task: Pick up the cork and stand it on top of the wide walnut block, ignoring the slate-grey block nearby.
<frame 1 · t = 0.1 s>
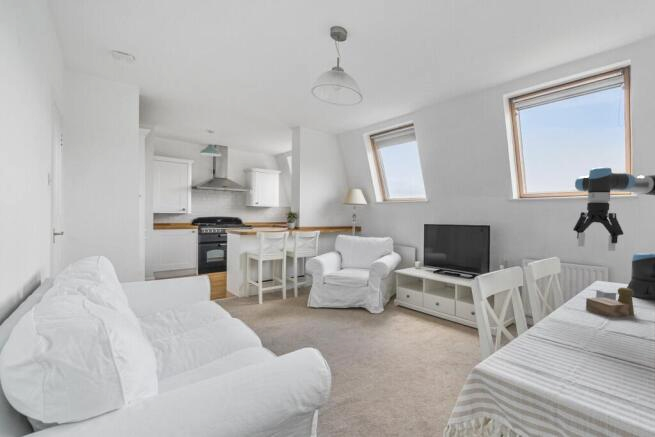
hand: (595, 248, 138), 28 cm above the table, fingers open, 13 cm apart
cork: (624, 312, 134), on the table
walnut block: (606, 312, 134), on the table
slate block: (605, 303, 147), on the table
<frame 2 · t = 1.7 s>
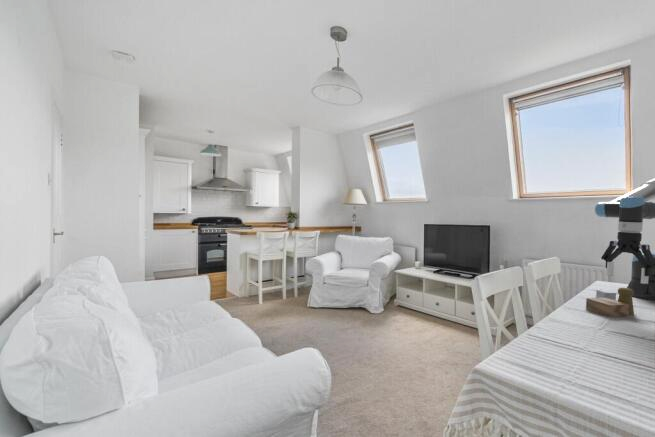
hand: (626, 279, 134), 15 cm above the table, fingers open, 13 cm apart
nothing on the table moved.
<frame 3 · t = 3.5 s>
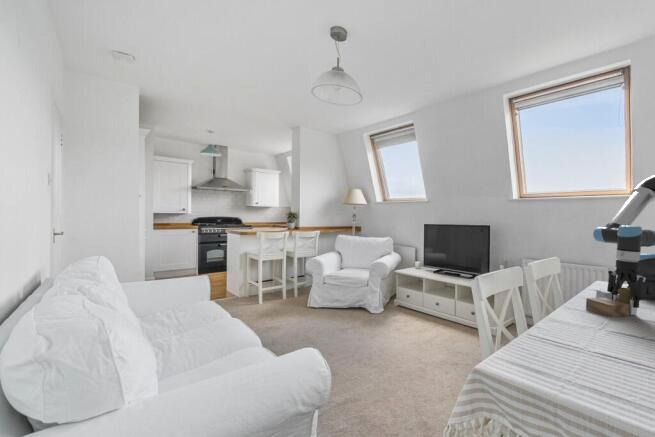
hand: (624, 311, 134), 0 cm above the table, fingers closed on cork, 6 cm apart
cork: (624, 312, 134), on the table, touching gripper
everything else where it was.
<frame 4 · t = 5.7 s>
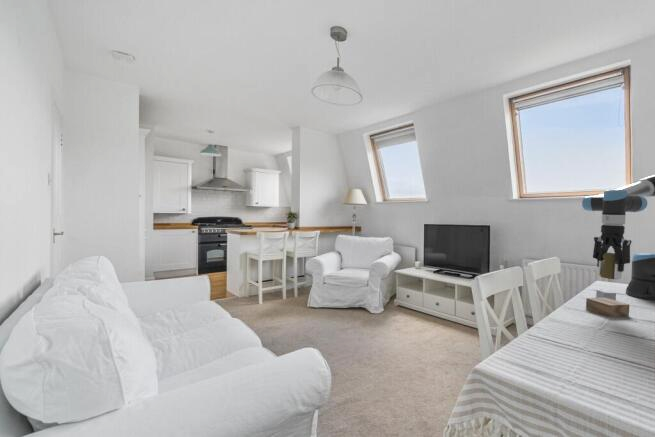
hand: (609, 276, 133), 16 cm above the table, fingers closed on cork, 6 cm apart
cork: (609, 278, 133), point 15 cm above the table, touching gripper
everything else where it was.
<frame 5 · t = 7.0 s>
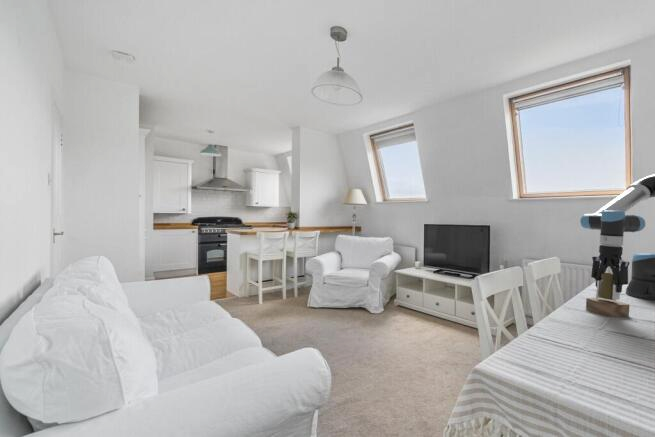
hand: (607, 296, 134), 7 cm above the table, fingers closed on cork, 6 cm apart
cork: (607, 298, 134), point 6 cm above the table, touching gripper
everything else where it was.
when the fingers open (7 cm above the table, at t = 8.1 s): cork drops 1 cm, resting on walnut block.
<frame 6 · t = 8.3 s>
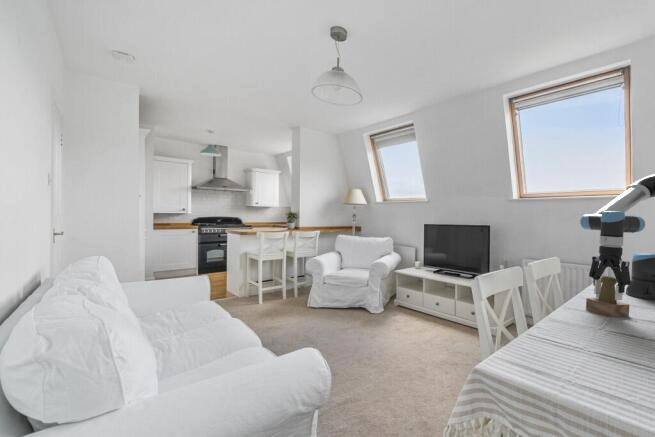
hand: (607, 296, 134), 7 cm above the table, fingers open, 8 cm apart
cork: (607, 301, 134), point 5 cm above the table, touching walnut block
everything else where it was.
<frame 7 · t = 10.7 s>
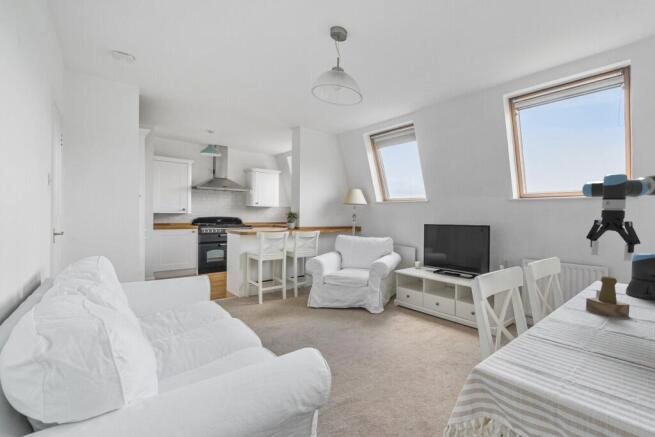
hand: (610, 257, 133), 25 cm above the table, fingers open, 13 cm apart
nothing on the table moved.
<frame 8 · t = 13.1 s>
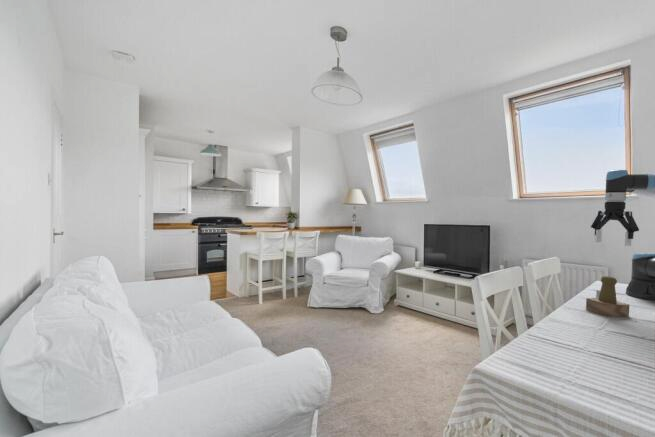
hand: (612, 243, 151), 29 cm above the table, fingers open, 13 cm apart
nothing on the table moved.
at the end: cork inside the target area on the walnut block (0.1 cm from its centre), point 4.8 cm above the walnut block's base; cork tilted 0°; the gripper is holding nothing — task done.
